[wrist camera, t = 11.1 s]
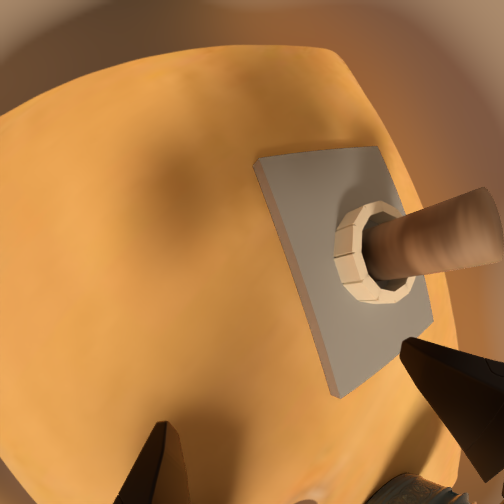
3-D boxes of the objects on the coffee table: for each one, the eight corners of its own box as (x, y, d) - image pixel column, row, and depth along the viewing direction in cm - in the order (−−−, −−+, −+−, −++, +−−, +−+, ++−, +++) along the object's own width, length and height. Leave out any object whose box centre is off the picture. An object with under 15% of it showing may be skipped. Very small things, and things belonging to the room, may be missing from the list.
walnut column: (386, 285, 24) (506, 267, 12) (349, 277, 23) (485, 253, 11) (387, 236, 26) (497, 201, 13) (352, 224, 24) (473, 175, 12)
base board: (424, 321, 28) (449, 321, 24) (330, 394, 22) (358, 406, 18) (369, 151, 29) (391, 136, 25) (252, 166, 23) (270, 143, 19)
